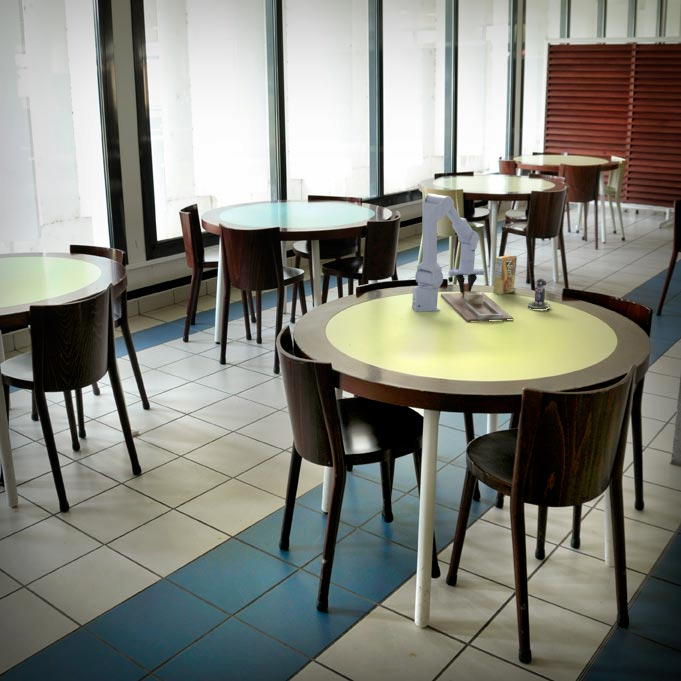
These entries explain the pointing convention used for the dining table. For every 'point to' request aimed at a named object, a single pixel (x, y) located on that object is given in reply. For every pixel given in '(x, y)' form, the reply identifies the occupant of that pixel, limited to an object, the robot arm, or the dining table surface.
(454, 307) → the thin wooden panel
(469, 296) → the joystick
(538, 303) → the figurine
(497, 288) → the candy box
